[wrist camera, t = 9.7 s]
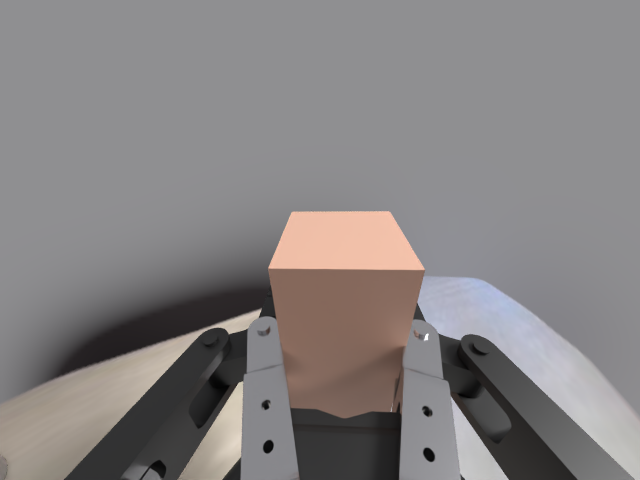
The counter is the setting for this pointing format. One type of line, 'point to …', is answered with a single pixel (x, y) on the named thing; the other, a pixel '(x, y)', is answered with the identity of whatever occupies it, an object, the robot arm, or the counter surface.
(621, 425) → the counter surface
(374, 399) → the peach block
